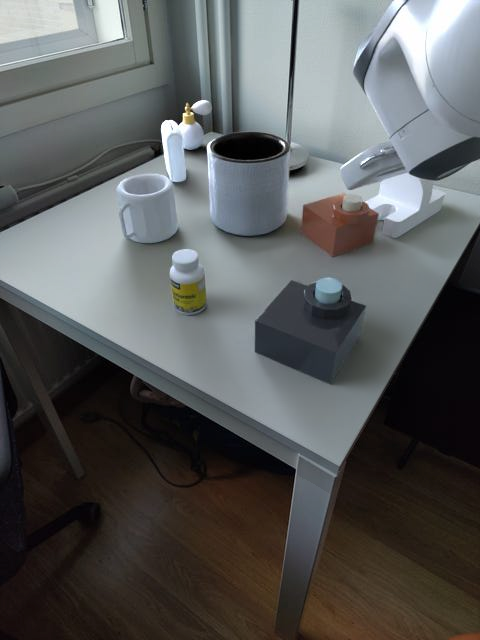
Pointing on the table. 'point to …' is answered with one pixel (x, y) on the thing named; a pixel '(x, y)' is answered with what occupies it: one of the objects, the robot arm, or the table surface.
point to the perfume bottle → (193, 125)
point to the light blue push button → (328, 290)
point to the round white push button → (352, 202)
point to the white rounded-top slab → (173, 151)
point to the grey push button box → (309, 330)
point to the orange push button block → (338, 225)
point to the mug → (147, 208)
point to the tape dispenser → (405, 203)
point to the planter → (248, 182)
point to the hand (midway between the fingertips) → (371, 179)
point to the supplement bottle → (188, 282)
